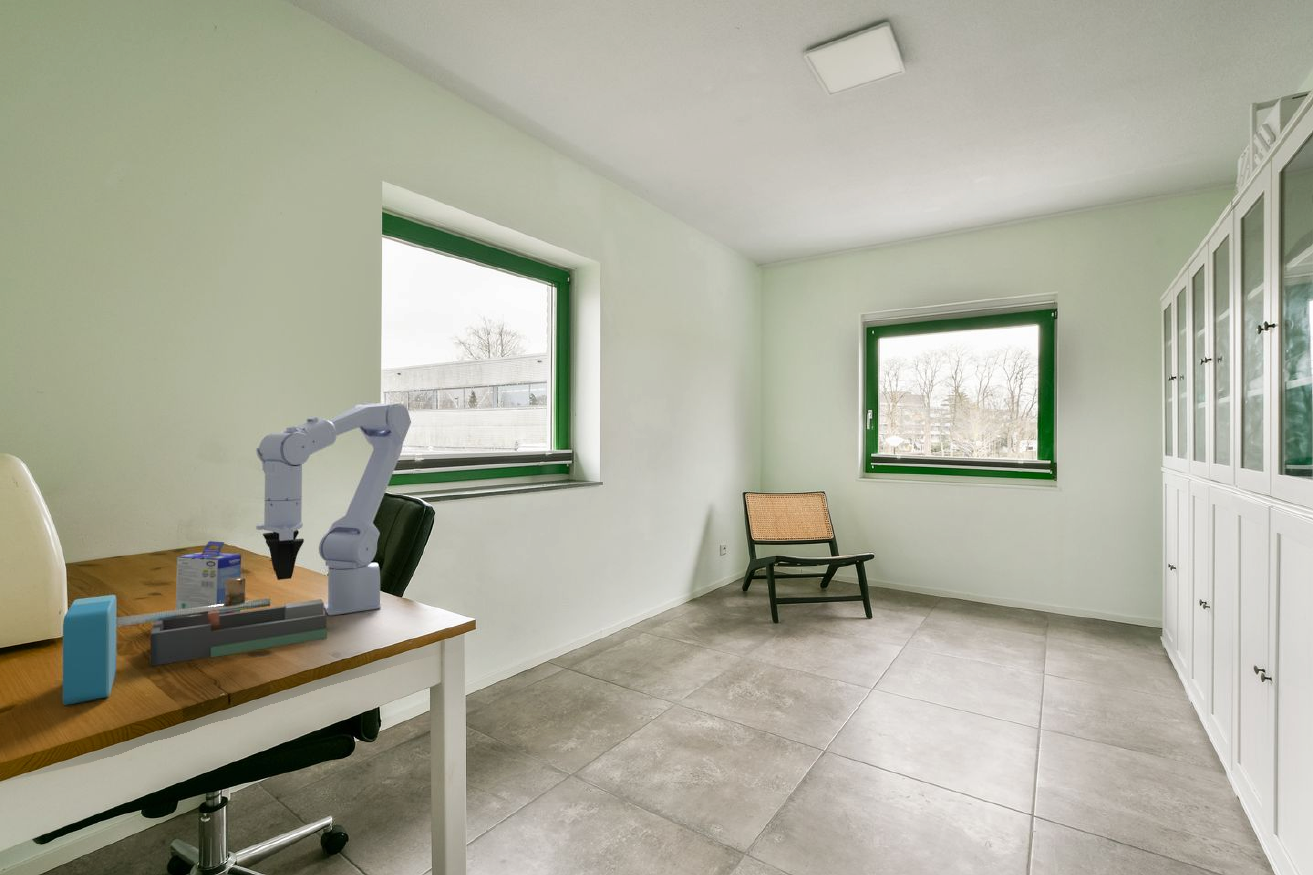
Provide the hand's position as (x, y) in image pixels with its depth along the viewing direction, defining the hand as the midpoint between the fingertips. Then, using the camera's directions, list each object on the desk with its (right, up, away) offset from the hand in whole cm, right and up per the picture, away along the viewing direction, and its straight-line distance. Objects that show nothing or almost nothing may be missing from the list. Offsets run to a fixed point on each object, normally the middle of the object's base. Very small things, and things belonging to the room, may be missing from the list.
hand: (282, 574), depth 110 cm
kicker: (-9, -9, -9) cm, 16 cm away
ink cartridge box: (-19, -10, +8) cm, 23 cm away
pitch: (-4, -10, -5) cm, 12 cm away
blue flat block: (-12, -11, -24) cm, 29 cm away
